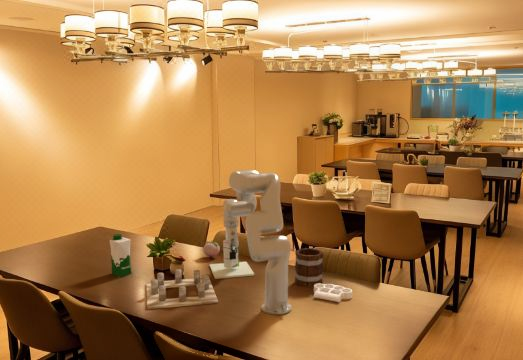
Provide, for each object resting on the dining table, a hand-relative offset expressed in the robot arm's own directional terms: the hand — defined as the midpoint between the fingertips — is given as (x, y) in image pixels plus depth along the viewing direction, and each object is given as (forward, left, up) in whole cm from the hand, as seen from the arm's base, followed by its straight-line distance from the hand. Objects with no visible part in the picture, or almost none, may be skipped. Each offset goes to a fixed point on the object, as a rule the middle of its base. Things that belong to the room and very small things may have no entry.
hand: (231, 256), depth 255 cm
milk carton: (+8, +55, -8) cm, 56 cm away
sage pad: (0, 0, -8) cm, 8 cm away
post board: (-25, +28, -8) cm, 38 cm away
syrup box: (0, 0, -6) cm, 6 cm away
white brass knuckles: (-43, -38, -8) cm, 58 cm away
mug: (-22, -35, -8) cm, 42 cm away
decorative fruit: (+24, +7, -8) cm, 26 cm away
